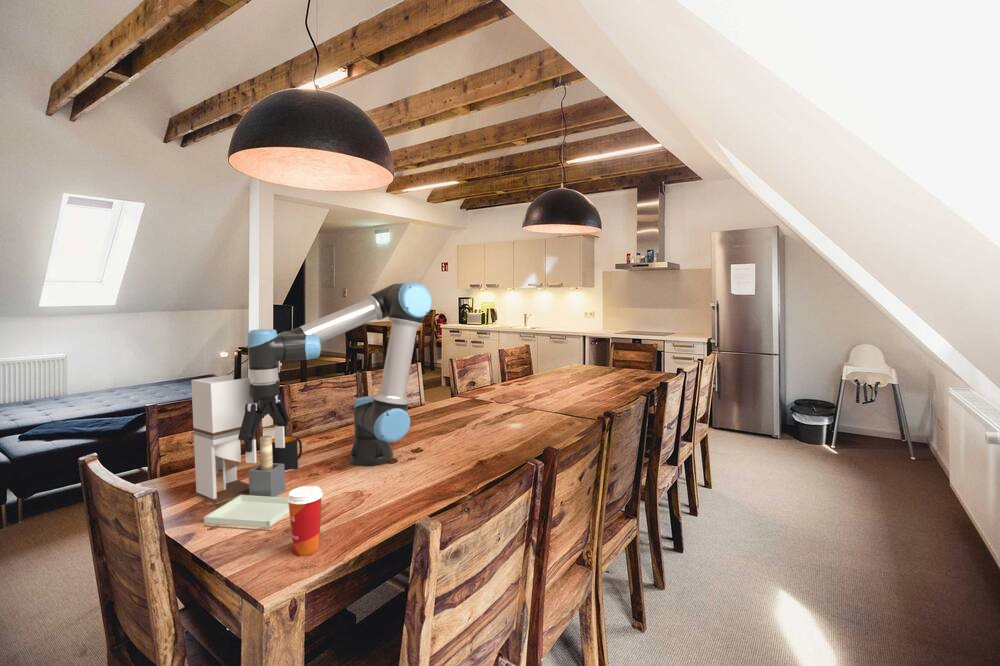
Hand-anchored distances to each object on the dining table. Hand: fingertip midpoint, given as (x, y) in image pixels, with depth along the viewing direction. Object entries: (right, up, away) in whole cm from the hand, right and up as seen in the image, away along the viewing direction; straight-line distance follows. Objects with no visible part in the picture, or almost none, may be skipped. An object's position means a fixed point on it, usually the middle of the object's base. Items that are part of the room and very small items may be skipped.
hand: (266, 454), depth 139 cm
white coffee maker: (-13, -13, +2) cm, 18 cm away
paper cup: (+23, -15, -28) cm, 40 cm away
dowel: (0, -12, +1) cm, 12 cm away
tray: (+2, -14, -11) cm, 18 cm away
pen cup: (0, -13, +1) cm, 13 cm away
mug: (-5, -11, +26) cm, 28 cm away
